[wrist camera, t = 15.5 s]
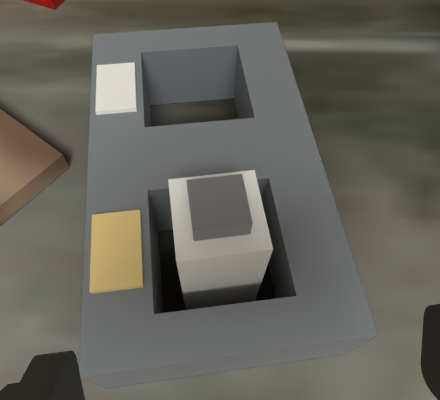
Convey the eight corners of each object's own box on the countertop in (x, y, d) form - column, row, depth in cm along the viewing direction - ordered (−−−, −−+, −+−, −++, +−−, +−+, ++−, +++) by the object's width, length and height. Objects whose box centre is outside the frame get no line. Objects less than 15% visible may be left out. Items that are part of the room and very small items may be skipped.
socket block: (109, 88, 32) (92, 30, 27) (267, 75, 33) (277, 18, 28) (106, 388, 21) (76, 376, 16) (345, 354, 22) (380, 333, 17)
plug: (179, 249, 25) (166, 166, 17) (242, 241, 25) (256, 156, 17) (186, 312, 23) (174, 252, 15) (254, 303, 23) (276, 238, 15)
